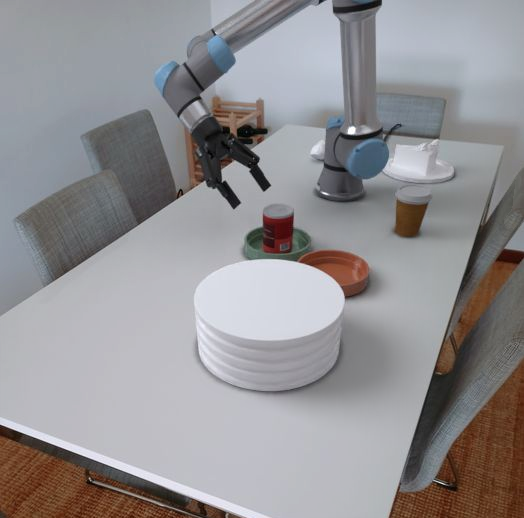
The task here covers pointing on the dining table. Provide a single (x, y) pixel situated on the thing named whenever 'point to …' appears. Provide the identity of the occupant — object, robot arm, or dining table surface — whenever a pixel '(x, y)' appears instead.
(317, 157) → the roll
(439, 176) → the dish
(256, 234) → the sage bowl
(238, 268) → the plate stack
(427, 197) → the disposable coffee cup
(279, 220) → the canned food
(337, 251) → the terracotta bowl
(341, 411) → the dining table surface
